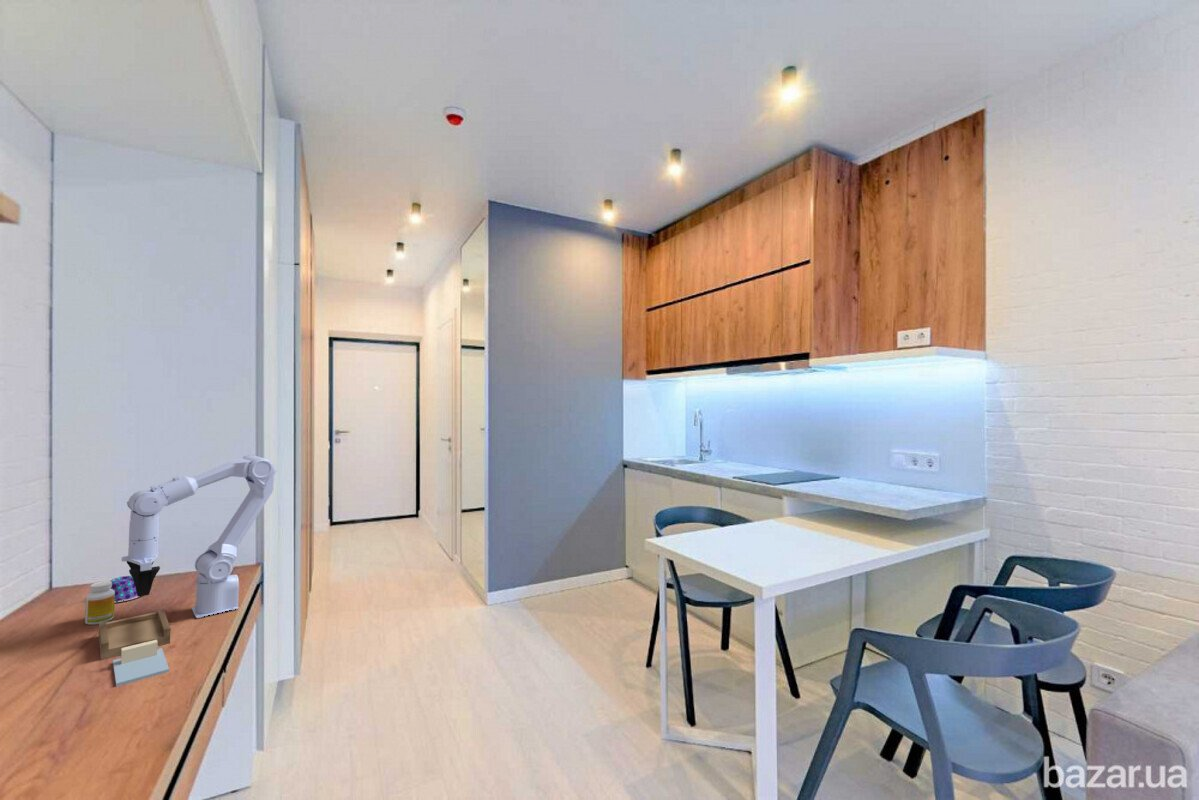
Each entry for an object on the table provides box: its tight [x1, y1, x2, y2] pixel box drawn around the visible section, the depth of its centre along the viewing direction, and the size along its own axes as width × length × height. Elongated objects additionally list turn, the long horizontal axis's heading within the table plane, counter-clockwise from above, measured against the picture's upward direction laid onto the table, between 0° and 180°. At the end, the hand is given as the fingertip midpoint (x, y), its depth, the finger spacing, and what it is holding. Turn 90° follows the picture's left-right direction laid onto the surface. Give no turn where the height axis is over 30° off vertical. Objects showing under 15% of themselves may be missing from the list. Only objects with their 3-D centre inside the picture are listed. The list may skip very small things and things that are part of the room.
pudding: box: [110, 575, 139, 603], centre depth 146 cm, size 12×12×5 cm
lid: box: [112, 640, 170, 687], centre depth 112 cm, size 8×12×4 cm
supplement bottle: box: [84, 580, 116, 626], centre depth 131 cm, size 5×5×10 cm
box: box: [98, 608, 172, 661], centre depth 123 cm, size 12×14×4 cm
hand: (141, 590), depth 128 cm, fingers open, 7 cm apart
